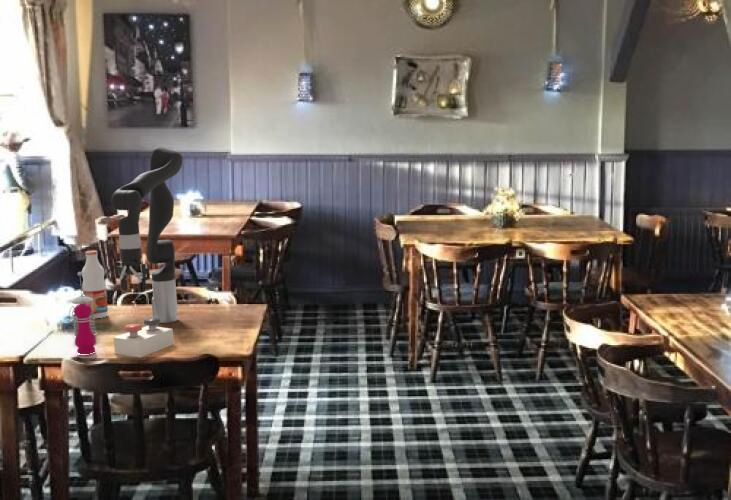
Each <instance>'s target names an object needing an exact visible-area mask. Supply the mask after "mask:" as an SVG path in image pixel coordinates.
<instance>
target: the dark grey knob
mask: <svg viewBox="0 0 731 500" xmlns="http://www.w3.org/2000/svg"><path fill="white" fill-rule="evenodd" d="M159 324H162V323H161V320H160V318H153V317H148V318H144V319H143V325H144V326H149V331H152V332H154V331H157V327H158V325H159Z"/></svg>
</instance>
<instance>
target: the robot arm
mask: <svg viewBox="0 0 731 500" xmlns="http://www.w3.org/2000/svg"><path fill="white" fill-rule="evenodd" d="M149 161H150V162H149V169H150V170H149V171H145V172H143V173H141V174H139V175H138V176H136V177H135V178H134V179H133V180H132V181H131V182H130V183H128V184H125V185H123V186H120V188H118V189H116V190H115V191H114V192H113V194H112V196H111V199H110V203H111V207H113V208H114V209H115V210H117V211H128V214H127V215H126V216H123V217H120V218H119V219H118V225H117V226H118V234H119V235H118V246H119V258H120V260H119V261H115V262H114V272H115V274H114V275H115V278H116V279H118V280H119V282H120V289H121V291H122V292H123V291H127V290H128V280H127V278H128V276H129V275H130V276H135V278H137V280H138V286H139V292H140V293H145V292H146V291H147V286H146V285H147V284H146V283H147V281H148V280H150V279H151V283H152V284H151V286H152V298H151V308H152V309H151V310H152V311H151V312H152V318H160V320H161V323H160V324H167V323H173V322H177V321H178V320H179V315H178V302H177V301H178V300H177V299H178V298H177V287H176V267H175V266H176V265H175V263H176V262H175V253H176V252H175V246H174V242H173V241H172V240H171V239H160V240H159V238H160V237H161V236H160V235H161V233H162V232H163V231H164V230H165V229H166V227H167V226H168V225H169V224H170V222H171V221H172V218H173V216H174V208H175V201H174V197H173V194H172V193H171V191H170V189H169V187H168V185H167V183H166V181H168V180H169V179H171V178H172V177H175V176H176V175H177V174H178V173H179V172H180V170H181V169H182V165H183V156H182V154H181V153H180V152H177V151H175V150H171V149H169V148H165V147H161V146H156V147H155V148H154V149H153V150H152V152H151V155H150V160H149ZM149 193H150V195H149V196H150V197H149V198H150V199H149V209H148V211H149V215H148V219H149V221H148V234H147V240H146V247H145V248H146V249H145V256H146V260H147V262H146V263H142V259H143V255H142V251H143V250H142V241H141V239H142V238H141V233H140V223H139V222H140V217H141V212H142V210H141V209H142V206H143V199H144V198H145V197H146V196H147V195H148V194H149ZM150 264H152V265H157V264H158V265H159V264H164V265H162V267H160V268H159V269H157V270H155V271H154V272H152V274H150V266H149V265H150Z"/></svg>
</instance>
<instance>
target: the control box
mask: <svg viewBox="0 0 731 500" xmlns="http://www.w3.org/2000/svg"><path fill="white" fill-rule="evenodd" d="M156 327H157V331H154V332H152V331H149V325H144V326H142V330H140V331H138V337H137V338H130V332H126V333H122V334H119V335H117V336H115V337H113V345H114V346H113V348H114V354H116V355H122V356H128V357H135V358H142V357H144V356H148V355H150V354H152V353H153V354H154V353H155V352H158V351H160V350H163V349H165V348H168V347H170V346H173V345H174V330H173V328H168V327H160V326H156Z"/></svg>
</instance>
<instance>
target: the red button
mask: <svg viewBox="0 0 731 500" xmlns="http://www.w3.org/2000/svg"><path fill="white" fill-rule="evenodd" d="M142 328H143V326H142V324H141V323H132V324H131V323H129V324H126V325H124V332H126V333H128V332H130V338H137V337H138V331H140V330H142Z"/></svg>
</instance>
